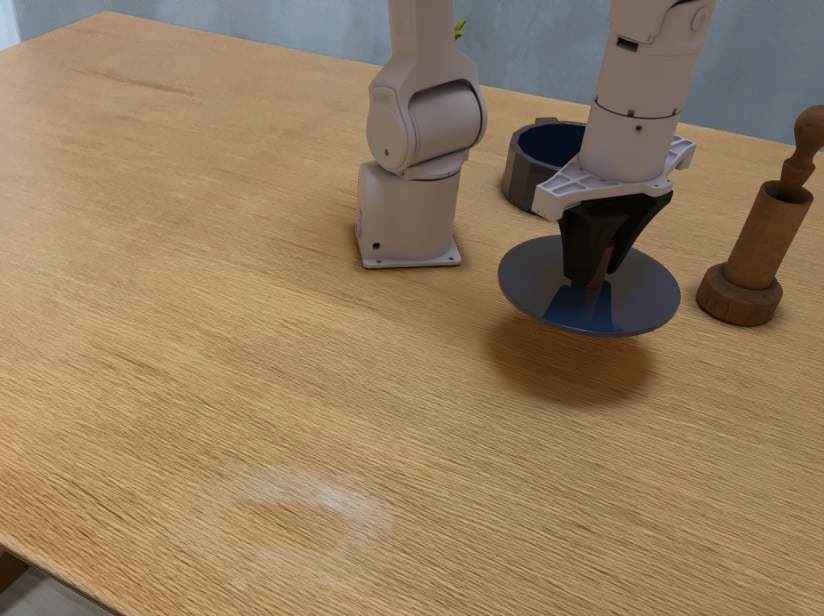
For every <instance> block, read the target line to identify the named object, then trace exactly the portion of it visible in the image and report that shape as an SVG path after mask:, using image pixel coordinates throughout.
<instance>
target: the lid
mask: <svg viewBox="0 0 824 616" xmlns="http://www.w3.org/2000/svg"><path fill="white" fill-rule="evenodd" d="M614 246H615V242H614V240H613V239H612V238H611V240H610V242H609V243H608V245H607V247H606V249H605V251H604V253H603V256H602V258H601V261H600V263H599V266H598V268H597V271H596V273H595V275H594V277H593V279H592V280H591V282H590V283H589V284H588V285H586V286H584V287H581V286H580V285H578V284H576V283H575V282H573V281H571V280H570V279H568V278H566V277H565V276H564V272H563V249H562V239H561V234H550V235H543V236H539V237H535V238H534V237H533V238H531V239H528V240H525V241H523V242H520V243H519V244H516V245H514V246H513V247H511V248H510V249H509V250H508V251H507V252H506V253H504V255H503V256H502V258H501V259H500V261H499V263H498V267H497V273H496V277H497V278H496V279H497V283H498V287H499V289H500V291H501V293H502V295H503V297H505V299H506V300H507V301H508V302H509V303H510V304H511V306H513V307H514V308H515V309H517V311H519V312H521V313H522V314H523V315H525V316H527V317H528V318H530V319H531V320H534V321H536V322H538V323H540V324H542V325H544V326H546V327H549V328H551V329H554V330H556V331H557V330H558V331H561V332H564V333H568V334H571V335H572V334H573V335H576V336H583V337H589V338H597V339H599V338H600V339H620V338H621V339H622V338H623V339H624V338H631V337H637V336H642V335H645V334H649V333H652V332H653V331H656V330H658V329H660V328H663V326H665V325H666V324H669V322H670V321H671V320H673V318H674V317H675V315H676V314H677V312H678V309H679V307H680V304H681V301H682V300H681V299H682V294H681V293H682V292H681V288H680V285H679V283H678V281H677V280H676V278H675V276H674V275H673V274H672V273H671V271H669V269H668V268H667V267H666V266H664V265H663V264H662V263H661V262H660V261H658V260H657V259H655V258H654V257H652V256H651V255H649V254H647V253H645V252H643V251H641V250H639V249H638V248H636V247H633V246H632V247H631V248H630V250H629V252H628V253H627V255H626V257H625V258H624V260H623V261H622V263H621V264H620V266H619V267H618V269H617V270H616V272H615V273H613V274H610V275H609V274H607V269H608V266H609V263H610V259H611V256H612V253H613V249H614Z"/></svg>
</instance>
